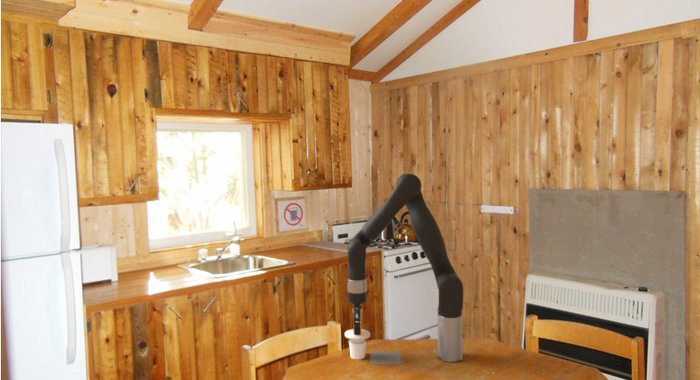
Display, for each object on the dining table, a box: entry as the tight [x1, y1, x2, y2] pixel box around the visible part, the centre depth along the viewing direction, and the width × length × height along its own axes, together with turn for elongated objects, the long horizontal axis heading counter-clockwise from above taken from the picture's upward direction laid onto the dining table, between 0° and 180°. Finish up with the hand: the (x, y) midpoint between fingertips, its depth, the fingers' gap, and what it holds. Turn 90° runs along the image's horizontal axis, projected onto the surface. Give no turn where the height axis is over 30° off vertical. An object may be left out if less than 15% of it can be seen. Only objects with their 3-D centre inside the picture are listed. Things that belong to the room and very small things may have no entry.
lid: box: [344, 320, 371, 340], centre depth 198 cm, size 10×10×5 cm
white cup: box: [348, 339, 367, 360], centre depth 198 cm, size 7×7×7 cm
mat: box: [369, 351, 403, 365], centre depth 197 cm, size 12×12×1 cm
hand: (357, 333), depth 198 cm, fingers closed on lid, 2 cm apart
